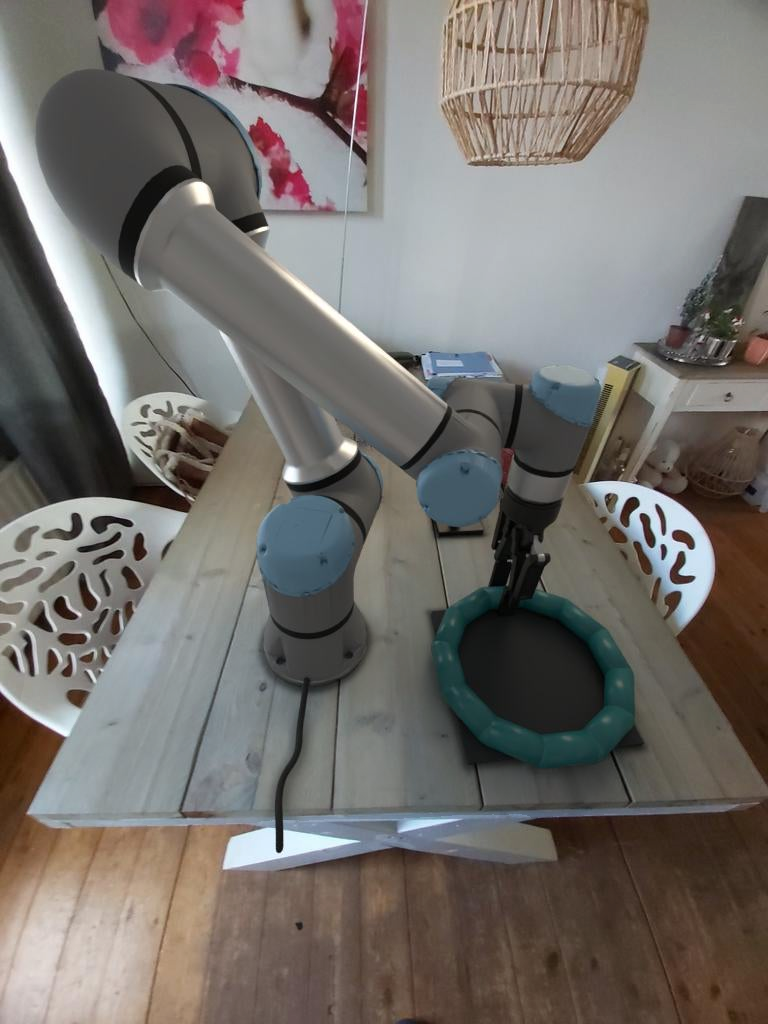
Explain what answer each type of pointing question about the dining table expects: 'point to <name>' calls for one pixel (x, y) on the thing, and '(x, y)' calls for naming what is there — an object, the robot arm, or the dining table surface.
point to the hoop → (519, 740)
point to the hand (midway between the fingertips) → (500, 601)
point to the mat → (529, 677)
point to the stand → (458, 529)
